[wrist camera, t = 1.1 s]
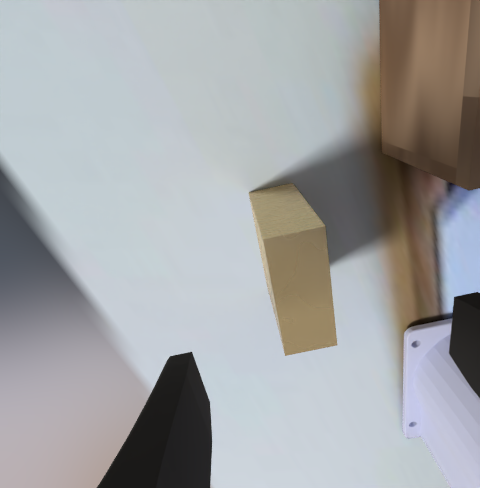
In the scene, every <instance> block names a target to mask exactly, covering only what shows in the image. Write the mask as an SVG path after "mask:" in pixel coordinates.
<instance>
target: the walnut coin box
mask: <svg viewBox="0 0 480 488" xmlns="http://www.w3.org/2000/svg"><path fill="white" fill-rule="evenodd" d="M379 8H380V73H381V138H382V153H384V154H386V155H389V156H391V157H393V158H396V159H398V160H400V161H402V162H405V163H407V164H409V165H412V166H414V167H416V168H418V169H421V170H423V171H425V172H428V173H430V174H432V175H435V176H437V177H439V178H441V179H444V180H446V181H448V182H451V183H453V184H455V185H457V186H460V187H462V188H464V189H467V190H473V189H478V188H480V0H379Z"/></svg>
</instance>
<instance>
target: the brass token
mask: <svg viewBox="0 0 480 488" xmlns="http://www.w3.org/2000/svg"><path fill="white" fill-rule="evenodd" d="M249 197H250V202H251V207H252V212H253V217H254V222H255V227H256V232H257V238H258V243H259V248H260V253H261V258H262V263H263V268H264V273H265V278H266V283H267V287H268V291H269V295H270V299H271V302H272V306H273V310H274V314H275V318H276V322H277V326H278V329H279V333H280V337H281V341H282V345H283V349H284V353H285V356H286V355H291V354H296V353H301V352H306V351H311V350H316V349H321V348H325V347H330V346H335V345H337V338H336V328H335V318H334V308H333V297H332V287H331V277H330V267H329V257H328V247H327V236H326V226H325V225H324V224H323V222H322V221H321V220H320V218H319V217H318V216H317V214H316V213H315V212H314V210H313V209H312V208H311V206H310V205H309V204H308V203H307V201H306V200H305V199H304V197H303V196H302V195H301V193H300V192H299V191H298V189H297V188H296V187H295V185H294V184H293V183H290V184H285V185H281V186H276V187H271V188H267V189H262V190H258V191H253V192H249Z"/></svg>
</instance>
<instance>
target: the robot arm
mask: <svg viewBox="0 0 480 488" xmlns="http://www.w3.org/2000/svg"><path fill="white" fill-rule="evenodd" d="M414 341H415V342H414ZM402 431H403V433H404V435H405V437H406V438H416V437H421V438H422V439H423V441H424V443H425V444H426V446H427V448H428V450H429V451H430V453H431V455H432V457H433V458H434V460H435V462H436V463H437V465H438V467H439V469H440V470H441V472H442V474H443V475H444V477H445V479H446V481H447V482H448V484H449V486H450V488H480V293H478V292H476V293H471V294H466V295H462V296H457V297H454V306H453V316H452V318H451V319H446V320H441V321H437V322H432V323H427V324H422V325H417V326H412V327H410V328H408V329H407V330H406V331H405V333H404V368H403V423H402ZM211 454H212V430H211V413H210V401H209V399H208V396H207V393H206V390H205V387H204V385H203V382H202V379H201V376H200V373H199V371H198V368H197V365H196V362H195V359H194V357H193V354H192V352H189V353H184V354H179V355H175V356H170V357H169V359H168V360H167V362H166V364H165V366H164V368H163V370H162V372H161V374H160V376H159V379H158V381H157V383H156V385H155V387H154V389H153V391H152V393H151V395H150V396H149V398H148V400H147V402H146V405H145V406H144V408H143V410H142V412H141V414H140V415H139V417H138V419H137V421H136V423H135V425H134V427H133V428H132V430H131V432H130V434H129V436H128V438H127V439H126V441H125V443H124V444H123V446H122V448H121V449H120V451H119V453H118V454H117V456H116V458H115V459H114V461H113V463H112V464H111V466H110V468H109V469H108V471H107V473H106V475H105V476H104V478H103V479H102V481H101V482H100V484H99V485H98V487H97V488H210V476H211Z"/></svg>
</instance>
